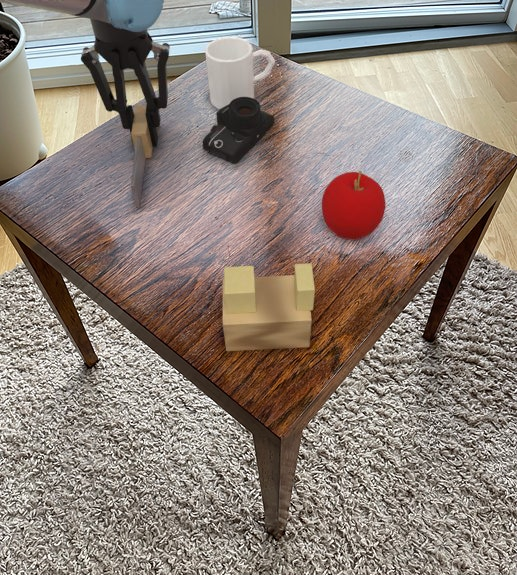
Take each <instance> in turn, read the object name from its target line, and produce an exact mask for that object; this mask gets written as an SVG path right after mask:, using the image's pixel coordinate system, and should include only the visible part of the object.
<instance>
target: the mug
mask: <svg viewBox="0 0 517 575" xmlns="http://www.w3.org/2000/svg"><path fill="white" fill-rule="evenodd" d="M253 50H254V48H253V45H252V44H251V43H250V42H249V41H248V40H247V39H244V38H242V37H238V36H222V37H218V38H216V39H214V40H212V41H210V42H209V43H208V44H207V45H206V47H205V48H204V52H205V53H204V54H205V61H206V71H207V72H206V73H207V79H208V80H207V81H208V91H209V98H210V100H209V101H210V103H211V105H212V106H213V107H214V108H216V109H218V110H220V109H221V108H223V107H225V106H226V105H228V104H230V102H231V101H232V100H234V99H236V98H239V97H250V98H253V99H255V83H256V82H260V81H262V80H263V79H265V78H266V77H268V76H269V75H270V73H271V71H272V69H273V67H274V65H275V64H276V60H275V58H274V57H273V55H272V54H271V52H270V51H269V50H265V49H262V48H261V49H259V50H255V51H253ZM259 57H262V58H265V59H266V60H267V62H268V63H267V64H266V67H265V69H264V70H263V71H262V72H260V73H258V74H256V75H254V59H255V58H259Z"/></svg>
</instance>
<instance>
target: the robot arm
mask: <svg viewBox="0 0 517 575" xmlns="http://www.w3.org/2000/svg"><path fill="white" fill-rule="evenodd" d="M164 2H165V0H0V3H1V4H7V5H11V6H13V7H25V8H30V9H36V10H42V11H48V12H54V13H60V14H65V15H70V16H72V17H73V16H74V17H78V18H84V19H89V20H90V24H91V28H92V32H93V35H94V43H93V45H92V46H90V47H88V46H85V47H83V49H82V52H81V56H80V61H81V63H83V65H85V67H86V68H87V69H88V70H89V73H90V75H91V77H92V80H93V82H94V85H95V87H96V90H97V92H98V94H99V97H100V99H101V101H102V104H103V106H104V108H105V110H106V111H107V112H110V113H111V112H116V113H117V114H118V115H119V119H120V121H121V122H120V123H121V126H122V128H123V129H124V130H129V134H130V137H131V141H132V145H133V146H132V147H133V148H134V149H135V147H134V143H133V139H132V135H131V132H132V126H133V119H134V113H135V110H134V108H133V105H132V104H128V99H127V91H126V81H125V71H124V70H127V69H128V70H133V72H134V75H135V76H136V78H137V81H138V83H139V86H140V89H141V92H142V94H143V97H144V99H145V102H146V104H145V105H146V113H145V115H146V120H147V124H148V129H149V133H150V138H151V142H152V147H153V148H155V147H157V148H158V139H159V134H158V130H157V128H161V127H160V126H161V120H162V119H161V114H160V110H161V109H163V110H166V109H167V108H168V101H169V100H168V99H169V93H168V92H169V91H168V90H169V89H168V88H169V87H168V68H167V67H168V66H167V62H168V61H169V58H170V50H171V48H170V44H169V43H168V42H164V43H162V44H160V43H158V42H155V41H154V40H153V38H152V36H151V35H150V34H149V31H148V29H150V28H151V27H152V26H154V24H155V23H156V22H157V21H158V19H159V18H160V15H161V14H162V12H163V8H164ZM151 52H152V53H153V58H154V59H155V61H157V66H156V68H157V72H156V73H157V88H158V97H157V94H156V92H155V89H154V86H153V84H152V80H151V77H150V74H149V72H148V69H147V65H146V60H147V58H148V56H149V54H150V53H151ZM100 56H101V58H103V59H104V60H105V61H106V62H107V63H108V64H109V65H110V66H111V70H112V77H113V82H114V92H115V96H114V94H113V91H112V88H111V86H110V83H109V82H108V79H107V75H106V73H105V71H104V68H103V66H102V64H101V61H100Z"/></svg>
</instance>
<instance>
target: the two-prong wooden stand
mask: <svg viewBox="0 0 517 575" xmlns="http://www.w3.org/2000/svg"><path fill="white" fill-rule="evenodd" d="M254 280H255V300H256V312H253V313H234V314H227V311H226V303H225V294H224V278H222V330H223V336H224V344H225V351H226V352H238V351H239V352H240V351H241V352H242V351H260V350H261V351H262V350H278V349H297V348H298V349H299V348H310V346H311V331H312V322H313V321H312V320H313V319H312V312H311V311H312V310H303V311H297V310H296V300H295V289H294V274H289V275H287V274H286V275H269V276H268V275H267V276H254Z"/></svg>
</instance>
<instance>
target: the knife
mask: <svg viewBox="0 0 517 575" xmlns="http://www.w3.org/2000/svg"><path fill="white" fill-rule="evenodd" d="M146 105H147V104H135V107H134V119H133V126H132V132H131V134H130V136H131V135H132V138H131V140H132V139H133V142H132V144H133V143H134V146H133V148H134V147H135V148H134V151H135V153H134V159H133V166H132V167H133V168H132V171H131V172H132V173H131V180H130V189H131V193H132V196H133V201H134V204H135V205H134V206H135V208H136V209H140V208H141V199H142V192H143V183H144V175H145V168H146V159H152V156H153V148H154V147H152V142H151V138H150V133H149V129H148V124H147V120H146V115H145V113H146Z"/></svg>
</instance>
